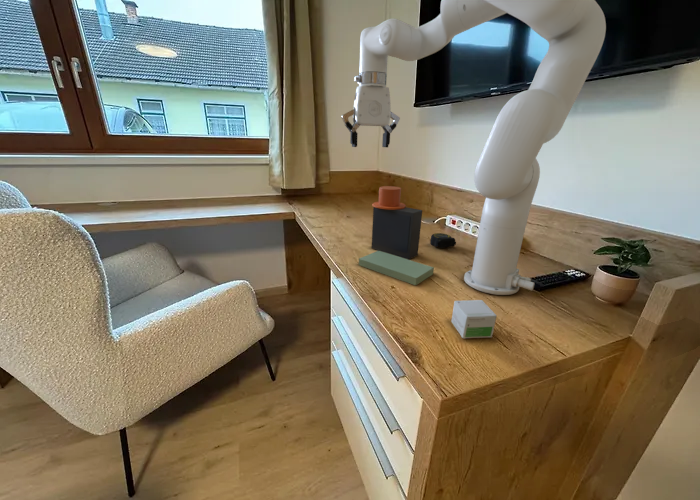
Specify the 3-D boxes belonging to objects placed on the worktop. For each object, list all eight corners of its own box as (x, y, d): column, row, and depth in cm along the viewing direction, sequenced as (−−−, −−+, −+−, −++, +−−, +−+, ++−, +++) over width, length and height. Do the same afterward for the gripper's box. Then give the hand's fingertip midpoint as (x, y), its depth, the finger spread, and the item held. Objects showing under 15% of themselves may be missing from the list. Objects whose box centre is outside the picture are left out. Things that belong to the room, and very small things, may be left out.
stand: (433, 274, 81) (434, 267, 80) (415, 285, 75) (416, 278, 74) (378, 256, 92) (378, 250, 92) (358, 265, 86) (358, 258, 85)
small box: (462, 339, 55) (466, 316, 53) (450, 321, 60) (453, 299, 59) (493, 338, 56) (498, 315, 54) (478, 320, 61) (482, 298, 59)
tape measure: (436, 250, 98) (438, 239, 97) (426, 243, 104) (427, 233, 103) (455, 249, 100) (457, 238, 99) (443, 242, 106) (445, 232, 105)
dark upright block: (417, 255, 94) (422, 210, 89) (408, 259, 90) (413, 213, 86) (380, 244, 103) (383, 202, 98) (371, 248, 99) (373, 205, 94)
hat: (411, 206, 94) (413, 188, 92) (393, 211, 87) (394, 191, 85) (385, 201, 100) (386, 184, 98) (365, 205, 93) (366, 187, 91)
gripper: (345, 77, 80) (345, 147, 86) (407, 82, 84) (402, 147, 90) (339, 82, 87) (338, 146, 93) (396, 85, 91) (392, 147, 97)
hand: (370, 147), depth 91 cm, fingers open, 9 cm apart
